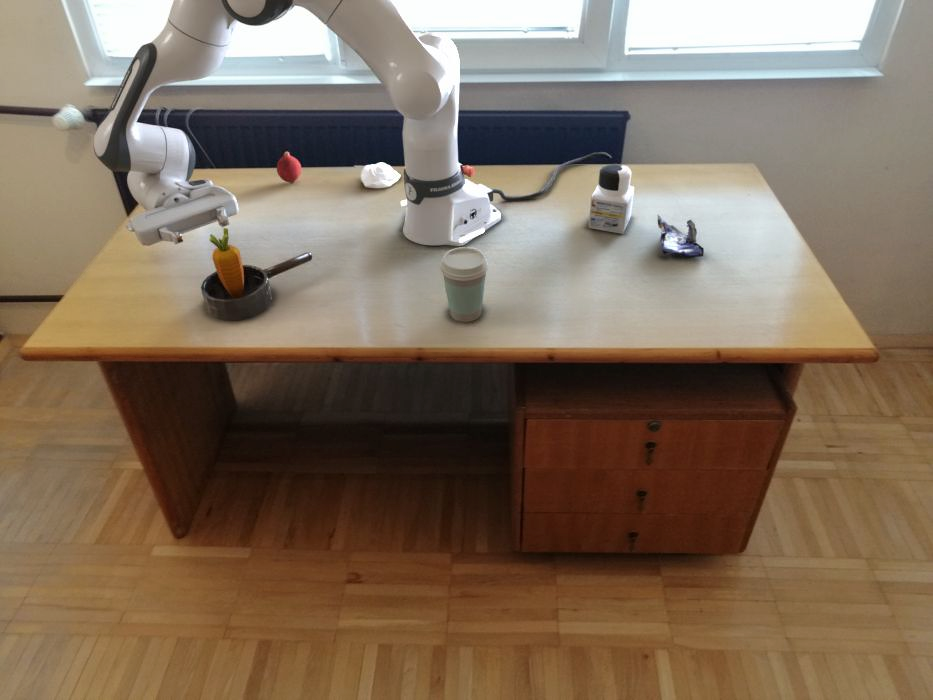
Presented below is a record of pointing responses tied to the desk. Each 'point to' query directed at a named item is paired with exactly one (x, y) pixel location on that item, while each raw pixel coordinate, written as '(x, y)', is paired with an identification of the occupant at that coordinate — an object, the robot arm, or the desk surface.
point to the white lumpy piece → (378, 175)
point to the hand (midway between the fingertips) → (202, 231)
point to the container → (612, 199)
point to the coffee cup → (464, 282)
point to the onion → (288, 168)
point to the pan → (233, 309)
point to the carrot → (228, 265)
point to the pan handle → (288, 265)
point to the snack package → (679, 240)
